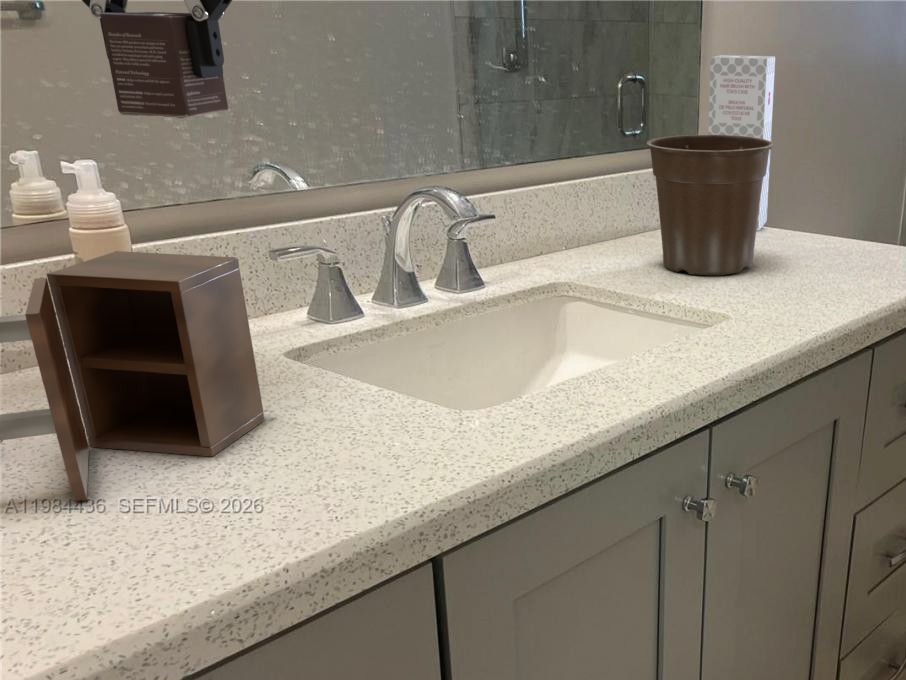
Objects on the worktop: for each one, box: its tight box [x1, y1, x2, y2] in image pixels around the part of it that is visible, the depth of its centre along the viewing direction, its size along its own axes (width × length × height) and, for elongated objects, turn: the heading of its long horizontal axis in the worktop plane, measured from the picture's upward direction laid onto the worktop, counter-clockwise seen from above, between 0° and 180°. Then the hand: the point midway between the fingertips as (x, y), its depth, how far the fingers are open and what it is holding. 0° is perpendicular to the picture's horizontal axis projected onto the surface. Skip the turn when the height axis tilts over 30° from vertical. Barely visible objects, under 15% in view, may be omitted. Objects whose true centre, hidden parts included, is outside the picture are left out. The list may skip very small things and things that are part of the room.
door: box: [0, 277, 90, 502], centre depth 72 cm, size 7×10×13 cm
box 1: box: [100, 11, 229, 119], centre depth 82 cm, size 6×6×7 cm
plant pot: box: [646, 134, 774, 277], centre depth 137 cm, size 16×16×16 cm
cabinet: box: [46, 250, 265, 457], centre depth 81 cm, size 8×10×14 cm
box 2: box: [707, 54, 776, 232], centre depth 163 cm, size 8×8×25 cm
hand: (168, 73), depth 82 cm, fingers closed on box 1, 6 cm apart
